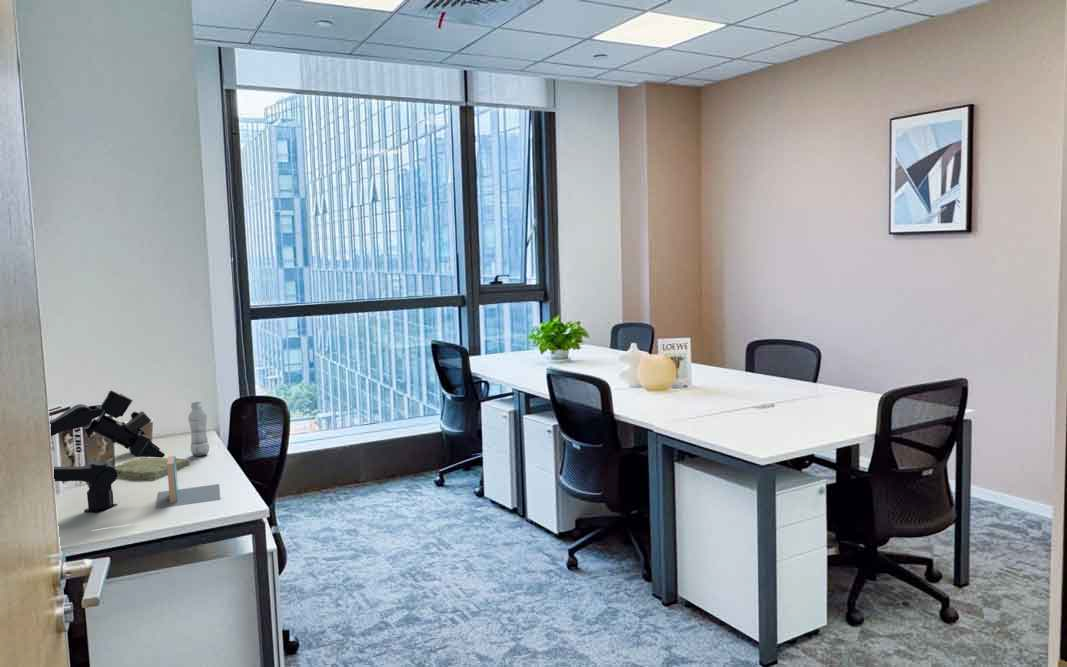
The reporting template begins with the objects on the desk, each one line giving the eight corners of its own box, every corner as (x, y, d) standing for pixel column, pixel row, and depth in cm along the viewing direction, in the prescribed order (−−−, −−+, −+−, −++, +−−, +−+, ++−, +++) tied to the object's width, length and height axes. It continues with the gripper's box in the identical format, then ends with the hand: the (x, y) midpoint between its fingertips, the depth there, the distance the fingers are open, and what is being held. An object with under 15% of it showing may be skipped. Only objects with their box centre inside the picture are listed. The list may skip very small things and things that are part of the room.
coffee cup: (137, 448, 308) (135, 418, 307) (161, 448, 307) (159, 418, 306) (120, 455, 298) (117, 424, 297) (145, 455, 297) (142, 424, 296)
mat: (154, 510, 231) (154, 508, 231) (158, 493, 247) (158, 492, 247) (220, 500, 238) (220, 499, 238) (219, 485, 254) (219, 483, 254)
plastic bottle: (203, 452, 298) (199, 400, 296) (213, 454, 294) (209, 402, 292) (187, 456, 293) (183, 403, 291) (197, 458, 289) (193, 405, 287)
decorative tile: (141, 465, 285) (140, 455, 284) (190, 466, 280) (189, 456, 280) (104, 480, 267) (103, 469, 266) (155, 481, 262) (154, 471, 262)
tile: (170, 502, 236) (166, 464, 235) (171, 493, 245) (168, 456, 244) (177, 501, 237) (174, 463, 236) (178, 492, 246) (175, 455, 245)
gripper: (133, 411, 228) (182, 435, 236) (124, 402, 243) (171, 424, 251) (110, 445, 225) (160, 468, 233) (103, 433, 241) (151, 455, 249)
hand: (161, 453), depth 242 cm, fingers open, 9 cm apart
